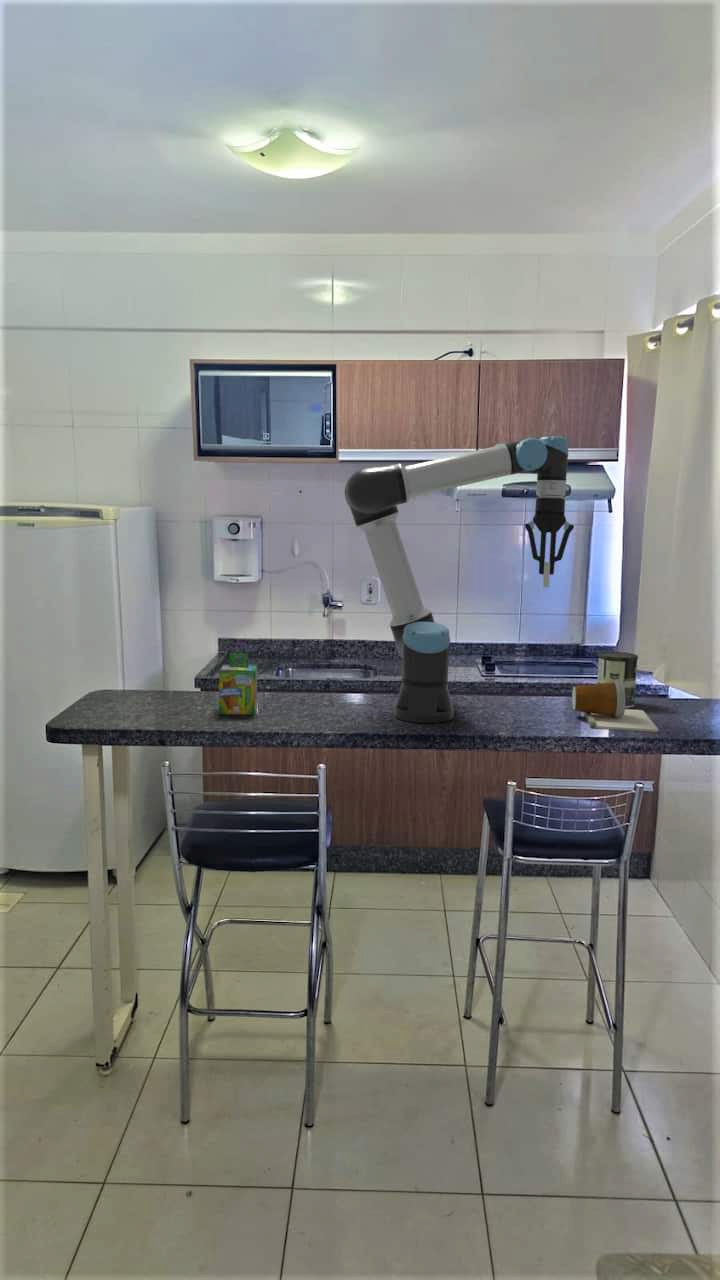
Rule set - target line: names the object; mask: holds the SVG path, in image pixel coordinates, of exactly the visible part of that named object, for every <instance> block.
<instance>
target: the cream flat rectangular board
mask: <svg viewBox="0 0 720 1280" xmlns="http://www.w3.org/2000/svg"><path fill="white" fill-rule="evenodd" d="M582 714H583V716H584V718H585V720H586V722H587V724H588V726H589V728H590V729H600V730H601V729H602V730H618V731H632V732H633V731H634V732H651V733H659V732H660V731H659V730H660V729H659V728H658V727H657V726H656V725H655V723H654V721H652V719H651V718H650V717H649V715H647V714H646V712H645V711H644V710H643V709H630V708H625V712H624V715H623V716H620V717H618V718H616V717H613V716H609V715H601V714H594V713H587V712H582Z"/></svg>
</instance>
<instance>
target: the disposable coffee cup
mask: <svg viewBox="0 0 720 1280" xmlns="http://www.w3.org/2000/svg"><path fill="white" fill-rule="evenodd" d="M571 697H572V698H571V700H572V701H571V703H572V710H573V711H574V712H580V713H583V712H587V713H594V714H601V715H609V716H613V717H616V718H618V717H620V716H623V715H624V712H625V709H626V708H625V702H626V701H625V688H624V684H623V683H622V682H618V681H615V682H612V683H602V684H597V683H594V684H586V685H585V684H584V685H583V684H582V685H573V687H572V694H571Z"/></svg>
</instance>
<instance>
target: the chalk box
mask: <svg viewBox="0 0 720 1280" xmlns="http://www.w3.org/2000/svg"><path fill="white" fill-rule="evenodd" d="M237 659H241V660H242V662H241V663H237V662H235V660H237ZM228 661H229V663H226V664H222V666H221V668H220V670H219V674H218V675H219V677H218V678H219V679H218V681H219V682H218V715H222V716H223V715H225V716H226V715H230V716H231V715H232V716H255V714H256V711H257V705H258V703H257V701H258V699H257V698H258V665H257V664H249V655H248V654H247V653H230V654H229V660H228Z"/></svg>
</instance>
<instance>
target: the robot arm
mask: <svg viewBox="0 0 720 1280" xmlns="http://www.w3.org/2000/svg"><path fill="white" fill-rule="evenodd" d="M568 458H569V440H568V439H567V438H566V437H564V436H557V435H556V436H552V435H551V436H549V435H548V436H542V437H540V438H536V437H529V438H524V439H522V440H519V441H518V440H517V441H514V442H510V443H507V442H504V443H497V444H495V445H494V446H491V447H486V448H483V449H477V450H473V451H469V452H465V453H461V454H460V453H459V454H455V455H451V456H447V457H441V458H436V459H432V460H429V461H424V462H418V463H415V464H409V465H406V466H405V465H403V464H401V463H394V464H389V465H382V466H367V467H363V468H360V469H359V470H357V471H355V472H353V474H351V476H350V477H349V478H348V480H347V481H346V484H345V487H344V497H345V500H346V501H345V502H346V503H347V505H348V506H349V508H350V511H351V515H352V517H353V521H354V523H355V526H356V528H358V529H360V530H361V531H363V532H364V535H365V538H366V541H367V544H368V547H369V550H370V553H371V555H372V559H373V561H374V565H375V567H376V570H377V573H378V576H379V579H380V582H381V586H382V589H383V592H384V595H385V597H386V600H387V603H388V607H389V609H390V612H391V615H392V618H391V620H390V622H389V626H390V630H391V632H392V636H393V639H394V643H395V649H396V651H397V654H398V655H399V656H400V658H401V659H402V665H401V687H400V689H399V693H398V696H397V698H396V701H395V703H394V706H393V707H394V708H393V710H394V711H393V716H394V717H395V718H397V719H399V720H402V721H405V722H409V723H411V722H412V723H417V724H418V723H419V724H421V723H422V724H439V723H445V722H449V721H451V720H453V718H454V714H455V713H454V712H455V711H454V708H455V707H454V705H453V702H452V698H451V695H450V691H449V685H448V684H449V663H450V645H451V644H450V643H451V637H450V630H449V628H448V627H446V625H444V624H441V623H437V622H435V619H434V616H433V613H432V611H431V609H428V608H426V607H425V606H424V604H423V601H422V599H421V598H422V597H421V595H420V592H419V589H418V586H417V583H416V581H415V578H414V574H413V570H412V568H411V565H410V562H409V559H408V556H407V553H406V550H405V546H404V544H403V540H402V536H401V534H400V532H399V529H398V528H399V527H398V525H397V522H396V520H397V517H398V515H399V510H398V507H397V506H398V505H402V504H407V503H408V502H409V501H410V499H411V498H414V497H415V498H416V497H419V496H423V495H428V494H432V493H436V492H440V491H445V490H450V489H454V488H457V487H462V486H466V485H471V484H476V483H480V482H484V481H489V480H493V479H494V480H495V479H498V478H502V477H506V476H511V475H516V474H522V475H523V474H527V475H528V474H529V475H530V474H532V475H534V474H536V492H535V494H536V496H537V497H536V499H535V510H534V516H533V517H532V520H531V521H529V522H527V523H525V524H524V528H525V530H526V531H527V533H528V539H529V545H530V550H531V555H532V559H533V560H535V561H537V562H538V563H539V565H538V567H539V568H538V573H539V575H542V585H541V587H542V588H549V587H550V575H551V576H553V575H554V573H555V564H556V562H559V561H561V560H562V559H563V556H564V553H565V550H566V546H567V542H568V541H569V537H570V534H571V532H572V531H573V530H574V528H575V526H574V524H571V523H570V522H568V521H567V517H566V516H565V511H566V510H565V509H566V499H565V498H564V497H565V496H566V490H567V475H568V474H567V473H568V472H567V471H568V460H569V459H568ZM563 525H564V527H563ZM535 526H536V528H537V529H538V531H539V532H540V548H539V554H538V550H537V545H536V540H535V535H534V531H533V530H534V529H535ZM562 527H563V530H564V532H563V535H562V538H561V541H560V544H559V548H558V551H557V555H556V545H557V544H556V543H557V533H558V532H559V531H560V530H561V529H562ZM547 533H550V544H549V545H550V546H549V561H548V562H547V561H545V559H546V547H547V546H546V545H547Z"/></svg>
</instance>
